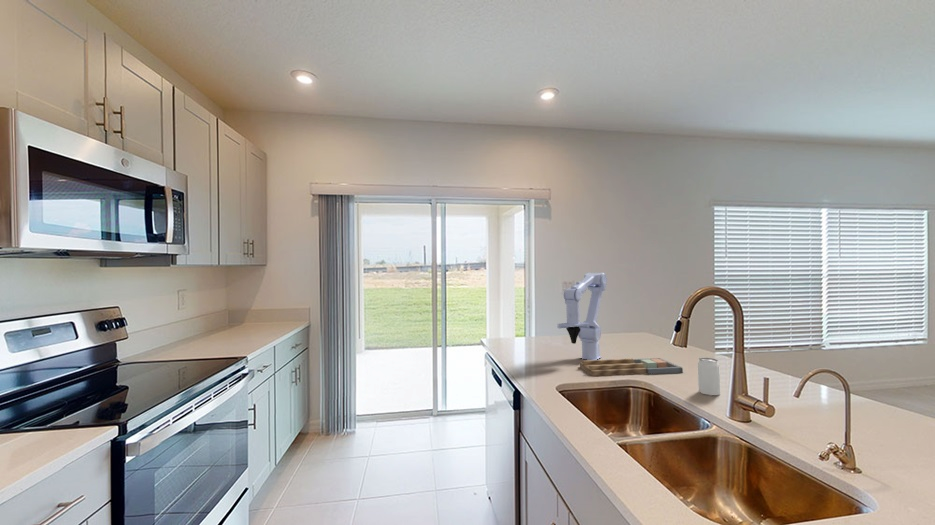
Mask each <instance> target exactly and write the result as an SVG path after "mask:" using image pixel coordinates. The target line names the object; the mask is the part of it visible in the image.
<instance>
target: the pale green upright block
mask: <svg viewBox="0 0 935 525" xmlns="http://www.w3.org/2000/svg"><path fill="white" fill-rule="evenodd" d="M644 359H645V360H641V363H643V364H644V368H646V369H647V368H657V363H656V362H654V361H652V360H649V359H650V358H644Z"/></svg>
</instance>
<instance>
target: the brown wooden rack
mask: <svg viewBox="0 0 935 525" xmlns="http://www.w3.org/2000/svg"><path fill="white" fill-rule="evenodd" d="M634 359H635V358H614V359H611V358H609V359H598V360H581V362H579V368H580V367H581V369H582V368H583V369H584V370H583V369H582V370H583V371H585V372H586V373H587V372H588V373H587V374H588V375H590V376H592V377H602V376H603V377H604V376H605V377H606V376H621V375H623V376H624V375H642V374H643V375H645V374H646V375H648V374H647V369H646V368H644V364H643V363H634Z"/></svg>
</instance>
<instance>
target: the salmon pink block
mask: <svg viewBox="0 0 935 525" xmlns="http://www.w3.org/2000/svg"><path fill="white" fill-rule="evenodd" d="M649 359H650V358H649ZM660 359H661V358H660ZM660 359H650V360H652V361H654V362H656V363H657V368H666V367H667V363H666V362H665V361H666V360H665V361H662V360H660Z"/></svg>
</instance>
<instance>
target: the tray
mask: <svg viewBox="0 0 935 525" xmlns="http://www.w3.org/2000/svg"><path fill="white" fill-rule="evenodd" d="M633 359H634V363H641V360H645V359H646V358H633ZM648 359H649V360H650V359H660V360H662V361H665V362H666V363H667V367H666V368H647V374H646V375H662V374H682V373H684V372H683V370H684V369H683V367H682V366H679V365H677V364H675V363H672V362H671V361H670V362H669V361H667V360H665V359H663V358H661V357H656V358H655V357H653V358H648Z"/></svg>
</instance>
